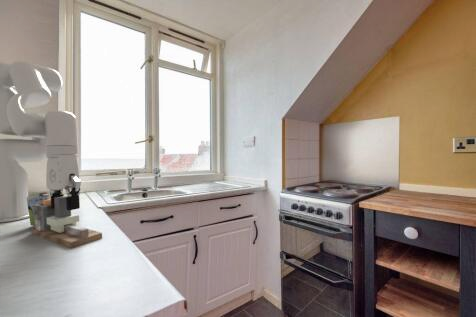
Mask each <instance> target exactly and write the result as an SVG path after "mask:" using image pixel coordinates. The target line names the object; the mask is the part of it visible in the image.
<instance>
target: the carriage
mask: <svg viewBox="0 0 476 317" xmlns="http://www.w3.org/2000/svg"><path fill="white" fill-rule="evenodd" d="M66 197H68V196H67V195H64V196H61V197H54V203H55V216H52V217H47V224H48V225H50V226H51V230H53V231H56V232H59V233H61V232H64V225H66V224H72V225H76V226H77V223H78V222H80V215H79V214H78V213H77V214H76V213H72V210H69V211H68V210H67V208H66Z"/></svg>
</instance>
